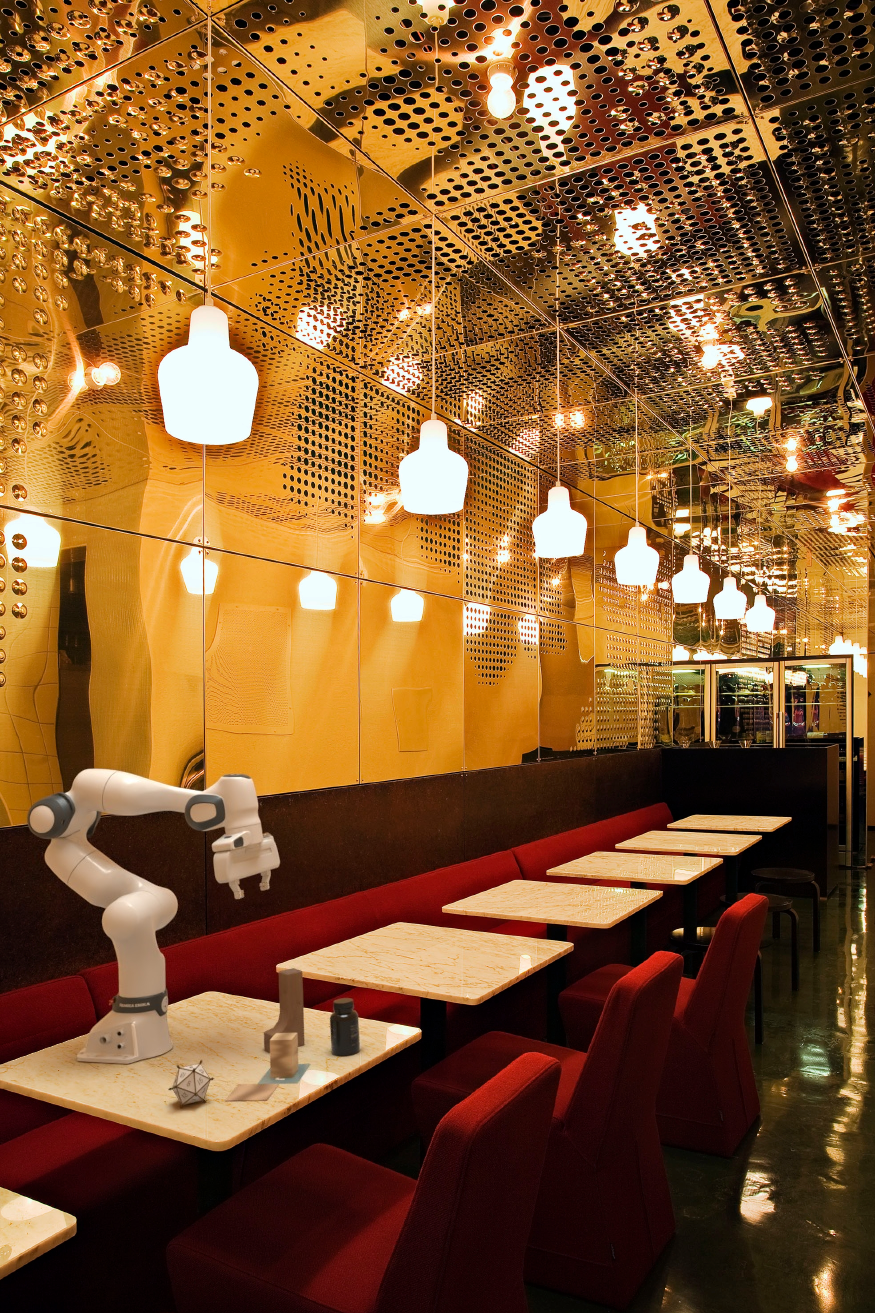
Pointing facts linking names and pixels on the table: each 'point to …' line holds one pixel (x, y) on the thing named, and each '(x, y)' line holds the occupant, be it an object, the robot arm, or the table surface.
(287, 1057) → the oak block
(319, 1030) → the table surface
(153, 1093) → the table surface
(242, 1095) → the cork mat
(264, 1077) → the tile
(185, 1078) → the game die
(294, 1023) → the wooden block
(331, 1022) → the supplement bottle
